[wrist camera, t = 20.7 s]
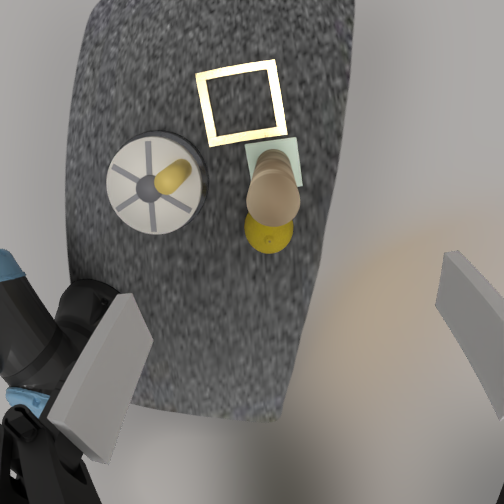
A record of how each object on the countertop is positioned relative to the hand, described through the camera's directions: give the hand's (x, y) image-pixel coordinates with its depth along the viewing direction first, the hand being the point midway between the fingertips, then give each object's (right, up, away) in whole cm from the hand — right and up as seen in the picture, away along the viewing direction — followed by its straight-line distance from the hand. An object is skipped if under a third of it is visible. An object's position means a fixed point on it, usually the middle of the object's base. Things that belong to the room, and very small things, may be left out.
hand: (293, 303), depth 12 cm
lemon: (0, +7, +27) cm, 28 cm away
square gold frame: (-3, +19, +20) cm, 28 cm away
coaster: (+1, +12, +24) cm, 27 cm away
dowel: (+1, +12, +23) cm, 26 cm away
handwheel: (-13, +10, +24) cm, 29 cm away
